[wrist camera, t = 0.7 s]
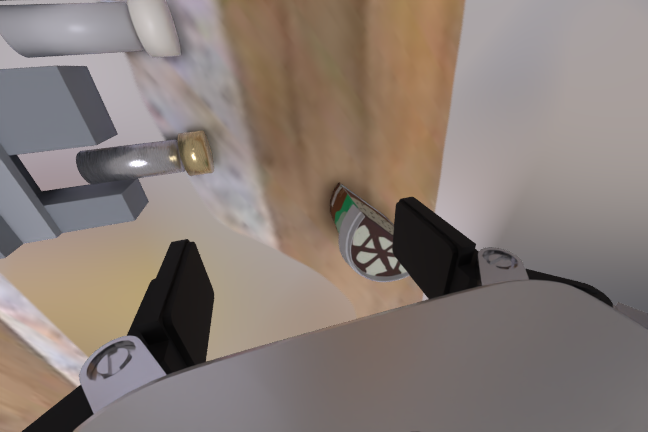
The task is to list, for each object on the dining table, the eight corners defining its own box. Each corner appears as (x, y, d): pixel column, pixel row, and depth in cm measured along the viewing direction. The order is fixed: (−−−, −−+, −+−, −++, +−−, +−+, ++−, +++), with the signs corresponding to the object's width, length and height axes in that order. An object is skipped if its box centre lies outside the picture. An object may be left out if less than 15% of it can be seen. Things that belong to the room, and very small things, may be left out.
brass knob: (88, 140, 24) (63, 151, 21) (204, 127, 26) (198, 135, 23) (109, 180, 26) (89, 197, 23) (215, 165, 28) (211, 178, 25)
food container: (301, 213, 34) (320, 260, 26) (330, 176, 33) (360, 213, 24) (364, 250, 40) (396, 298, 32) (391, 220, 39) (432, 262, 30)
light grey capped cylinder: (16, 2, 19) (-32, -12, 16) (167, -2, 21) (152, -15, 18) (49, 65, 21) (12, 65, 18) (184, 56, 23) (173, 54, 20)
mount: (-155, -54, 16) (-381, -123, 10) (32, -52, 18) (-69, -110, 12) (41, 218, 26) (-18, 261, 21) (148, 201, 28) (123, 236, 22)
